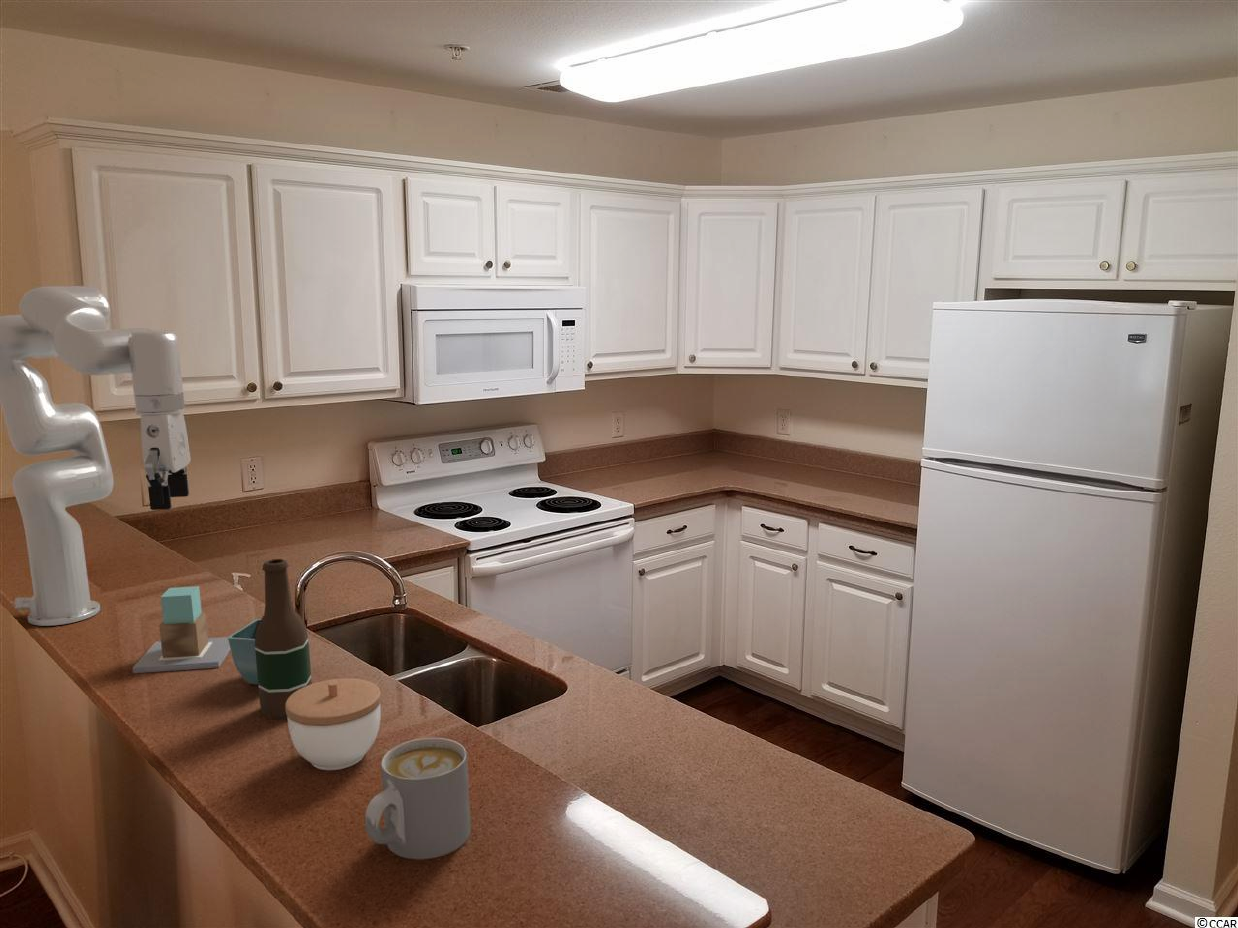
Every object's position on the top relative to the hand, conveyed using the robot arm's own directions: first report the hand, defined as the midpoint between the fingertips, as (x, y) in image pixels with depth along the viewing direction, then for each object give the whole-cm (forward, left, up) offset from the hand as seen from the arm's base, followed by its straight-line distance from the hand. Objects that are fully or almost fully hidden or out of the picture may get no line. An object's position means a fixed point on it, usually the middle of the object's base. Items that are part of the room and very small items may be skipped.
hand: (170, 502), depth 161 cm
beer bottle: (+22, -25, -28) cm, 44 cm away
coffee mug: (+44, -64, -28) cm, 83 cm away
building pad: (0, 0, -28) cm, 28 cm away
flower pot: (+17, -13, -29) cm, 36 cm away
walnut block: (0, 0, -27) cm, 27 cm away
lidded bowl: (+32, -42, -28) cm, 60 cm away
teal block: (0, 0, -21) cm, 21 cm away
